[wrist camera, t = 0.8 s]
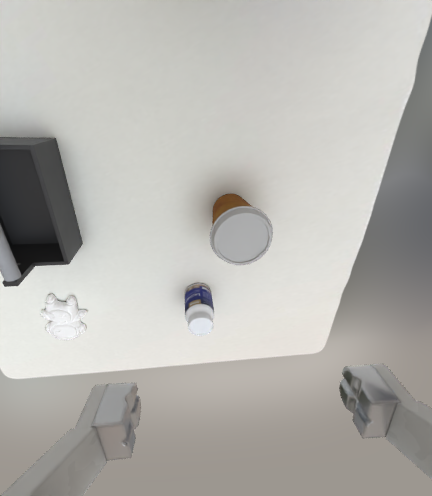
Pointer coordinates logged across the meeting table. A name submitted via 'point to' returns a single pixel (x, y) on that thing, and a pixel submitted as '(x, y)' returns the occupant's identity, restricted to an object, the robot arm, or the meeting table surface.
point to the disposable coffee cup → (239, 231)
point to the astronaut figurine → (63, 318)
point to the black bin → (34, 208)
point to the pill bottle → (199, 309)
